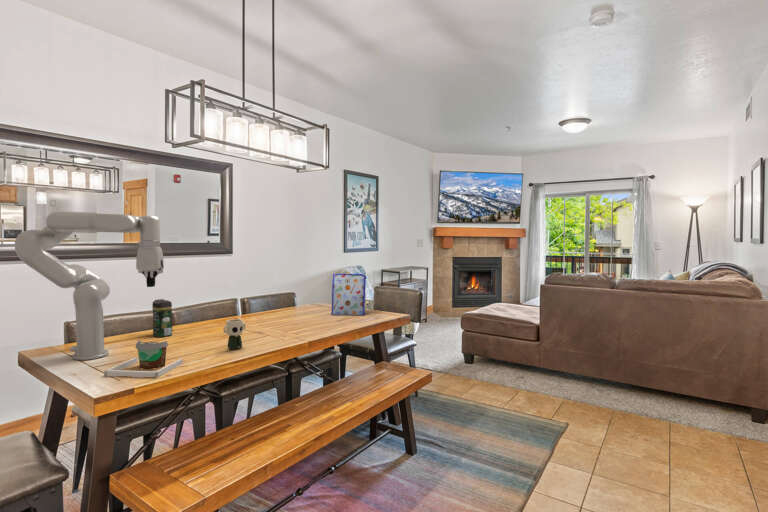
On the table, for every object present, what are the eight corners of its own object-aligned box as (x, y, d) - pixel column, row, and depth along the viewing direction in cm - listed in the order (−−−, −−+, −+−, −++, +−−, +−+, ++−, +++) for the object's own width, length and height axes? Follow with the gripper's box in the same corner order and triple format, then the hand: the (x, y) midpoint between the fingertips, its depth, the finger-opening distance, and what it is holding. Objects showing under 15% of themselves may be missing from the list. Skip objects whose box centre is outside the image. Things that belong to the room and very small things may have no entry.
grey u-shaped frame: (104, 376, 153) (104, 370, 153) (135, 362, 170) (135, 357, 170) (156, 377, 152) (156, 372, 152) (182, 363, 169) (182, 358, 169)
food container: (128, 369, 161) (127, 343, 161) (139, 364, 167) (138, 339, 167) (158, 370, 160) (158, 344, 159) (168, 365, 166) (168, 340, 166)
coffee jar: (150, 335, 215) (149, 299, 215) (166, 332, 222) (165, 297, 221) (158, 338, 209) (157, 301, 208) (174, 335, 215) (174, 299, 214)
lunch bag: (365, 311, 289) (366, 272, 288) (366, 315, 273) (366, 274, 271) (332, 311, 288) (332, 272, 287) (330, 315, 271) (331, 274, 270)
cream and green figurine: (228, 352, 186) (227, 323, 185) (219, 349, 190) (219, 321, 189) (249, 347, 194) (249, 319, 193) (241, 344, 198) (240, 317, 198)
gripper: (127, 244, 179) (128, 287, 180) (161, 244, 178) (162, 288, 179) (139, 244, 186) (140, 285, 187) (171, 244, 185) (172, 285, 186)
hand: (151, 286), depth 183 cm, fingers closed
